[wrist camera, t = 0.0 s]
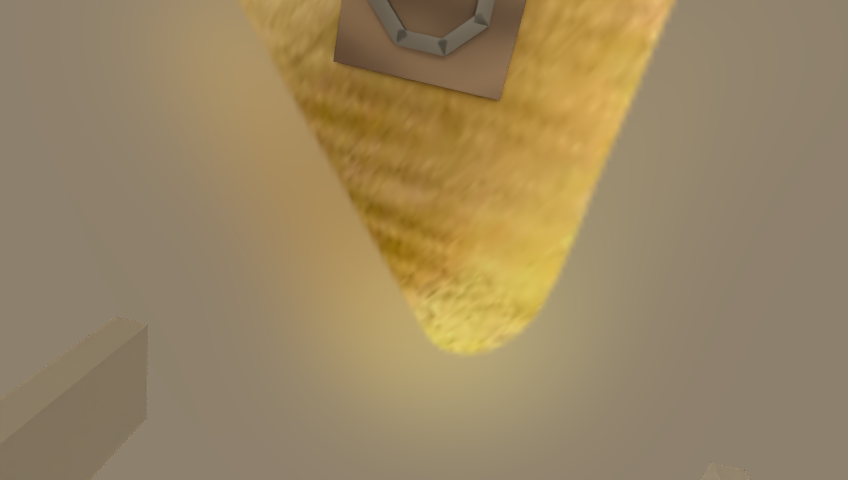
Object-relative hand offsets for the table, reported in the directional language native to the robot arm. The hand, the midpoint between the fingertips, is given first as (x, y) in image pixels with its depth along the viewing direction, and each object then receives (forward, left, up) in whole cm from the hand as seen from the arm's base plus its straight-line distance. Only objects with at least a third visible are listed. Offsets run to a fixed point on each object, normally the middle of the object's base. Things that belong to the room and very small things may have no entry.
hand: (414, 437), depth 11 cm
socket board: (-12, -4, -28) cm, 31 cm away
